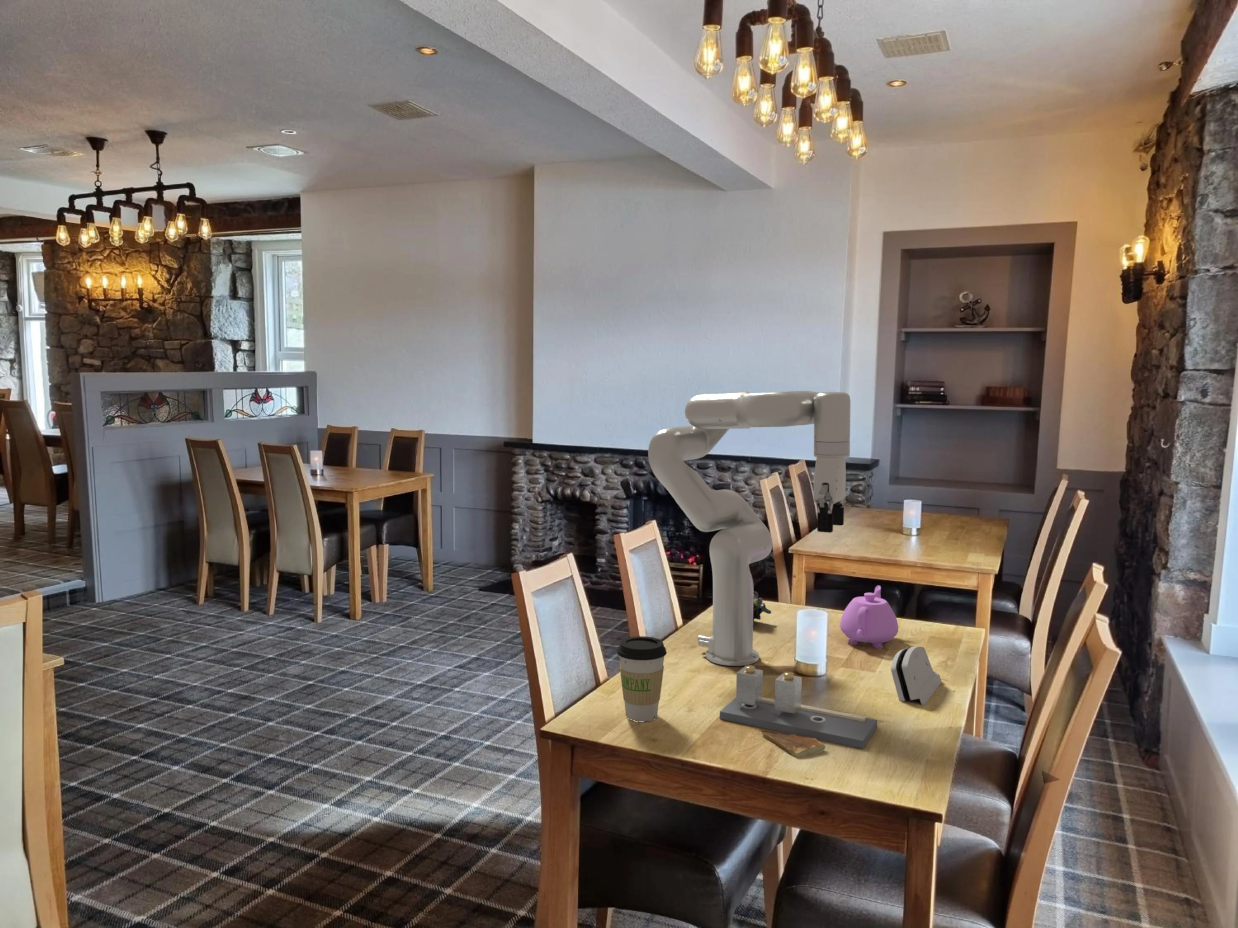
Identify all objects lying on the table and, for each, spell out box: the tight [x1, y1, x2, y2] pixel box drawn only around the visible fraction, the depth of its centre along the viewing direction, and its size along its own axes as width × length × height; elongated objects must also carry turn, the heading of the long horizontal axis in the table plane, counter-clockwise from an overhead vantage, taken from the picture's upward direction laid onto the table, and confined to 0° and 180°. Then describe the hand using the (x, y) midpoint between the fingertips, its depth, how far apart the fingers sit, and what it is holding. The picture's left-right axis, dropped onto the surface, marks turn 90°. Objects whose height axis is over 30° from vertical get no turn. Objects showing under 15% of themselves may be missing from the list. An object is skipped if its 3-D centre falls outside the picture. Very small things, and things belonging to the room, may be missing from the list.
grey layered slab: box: [890, 646, 943, 706], centre depth 188 cm, size 17×5×10 cm, turn 148°
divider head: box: [774, 671, 803, 714], centre depth 171 cm, size 4×4×8 cm
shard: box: [761, 730, 826, 759], centre depth 161 cm, size 11×8×2 cm
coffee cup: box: [616, 635, 667, 722], centre depth 173 cm, size 10×10×15 cm
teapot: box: [839, 585, 899, 649], centre depth 222 cm, size 20×14×12 cm
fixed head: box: [735, 664, 764, 706], centre depth 175 cm, size 4×4×8 cm
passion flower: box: [753, 590, 772, 622], centre depth 237 cm, size 11×11×12 cm
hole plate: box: [719, 696, 878, 750], centre depth 170 cm, size 28×11×2 cm, turn 60°
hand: (830, 528), depth 190 cm, fingers open, 9 cm apart
